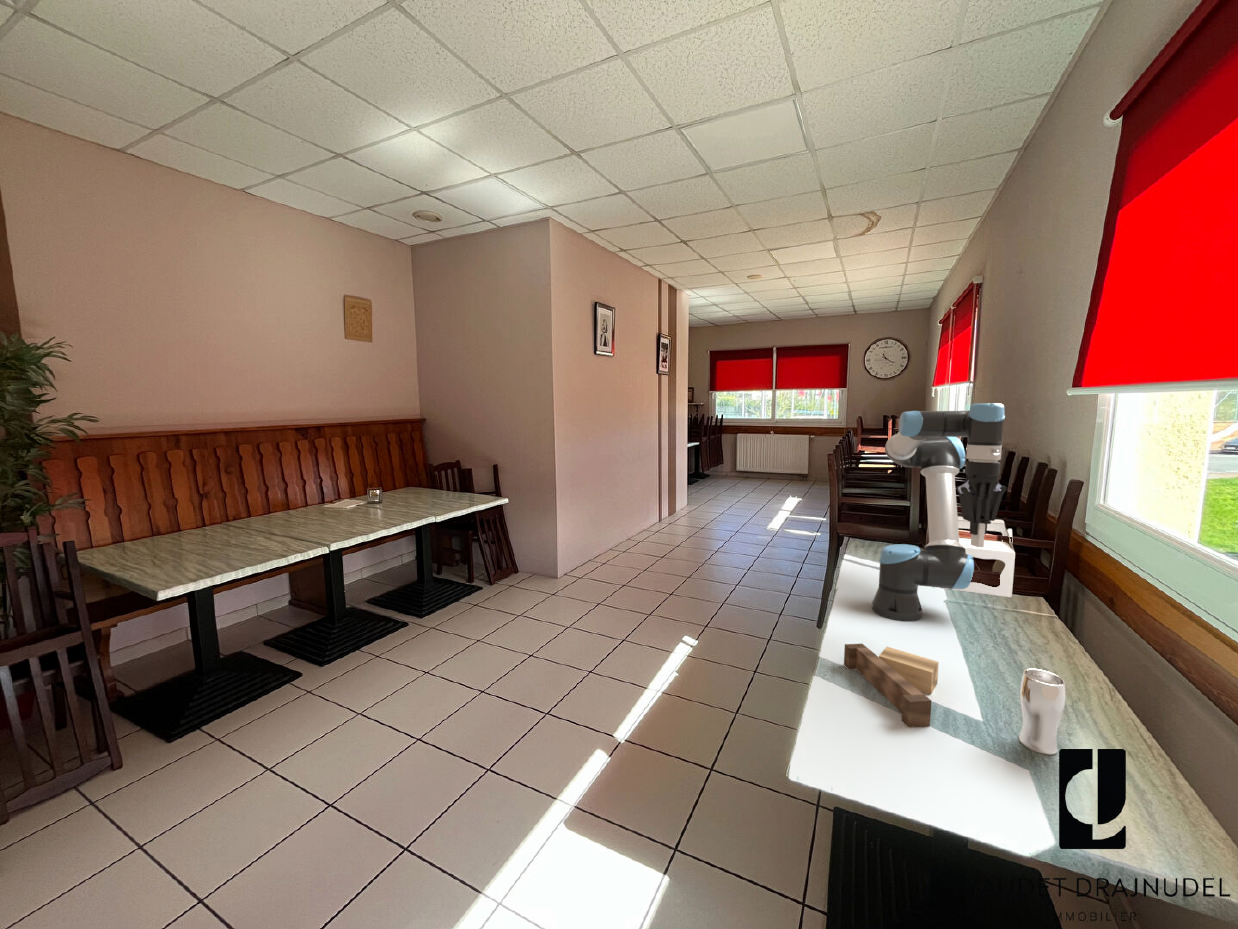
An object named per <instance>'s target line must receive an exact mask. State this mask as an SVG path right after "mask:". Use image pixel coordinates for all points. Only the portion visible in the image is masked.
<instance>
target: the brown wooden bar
mask: <svg viewBox="0 0 1238 929" xmlns="http://www.w3.org/2000/svg"><path fill="white" fill-rule="evenodd" d="M843 650H844V652H843V653H844V654H843V656H844V657H843V666H844V665H845V666H846V667H847V668H848V669H852V670H856V671H857V672H858V673H859V674H860V675H861V676H862V675H863V676H864V677H865V678H866V679H865V678H864V677H863V676H862V677H863V678H864V679H865V680H866V681H868V682H869V684H871V686H873V687H874V689H876V690H877V691H878V692H879V693H881V695H882V696H884V698H886V700H888V701H889V702H890V703H891V704H892V705H893V706H894V707H895V708H896V709H897V710H898V711H900V712H901V720H900V721H901V722H902V723H903V724H904V725H905V726H906V727H907V728H921V727H923V728H924V727H931V716H932V715H931V714H932V700H931V699H930V698H929V697H928V696H927V695H925V694H924V692H921V691H919V690H918V689H917V688H916V687H914V686H913V685H912V684H911V683H910V682H908V681H907V680H906V679H905V678H903V677H902V676H901V675H900V674H899V673H897V672H896V671H895V670H894V669H893V668H891V667H890V666H889V665H888V664H886V663H885V662H884V661H883V660H882V659H880V658H879V655H877V654H876V653H874V652H873V651H872V650H870V649H869V648H868V647H867V646H866V645H865V644H864V643H846V644H845V643H844V649H843ZM845 666H844V667H845ZM846 667H845V668H846ZM847 668H846V669H847ZM848 669H847V670H848Z"/></svg>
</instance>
